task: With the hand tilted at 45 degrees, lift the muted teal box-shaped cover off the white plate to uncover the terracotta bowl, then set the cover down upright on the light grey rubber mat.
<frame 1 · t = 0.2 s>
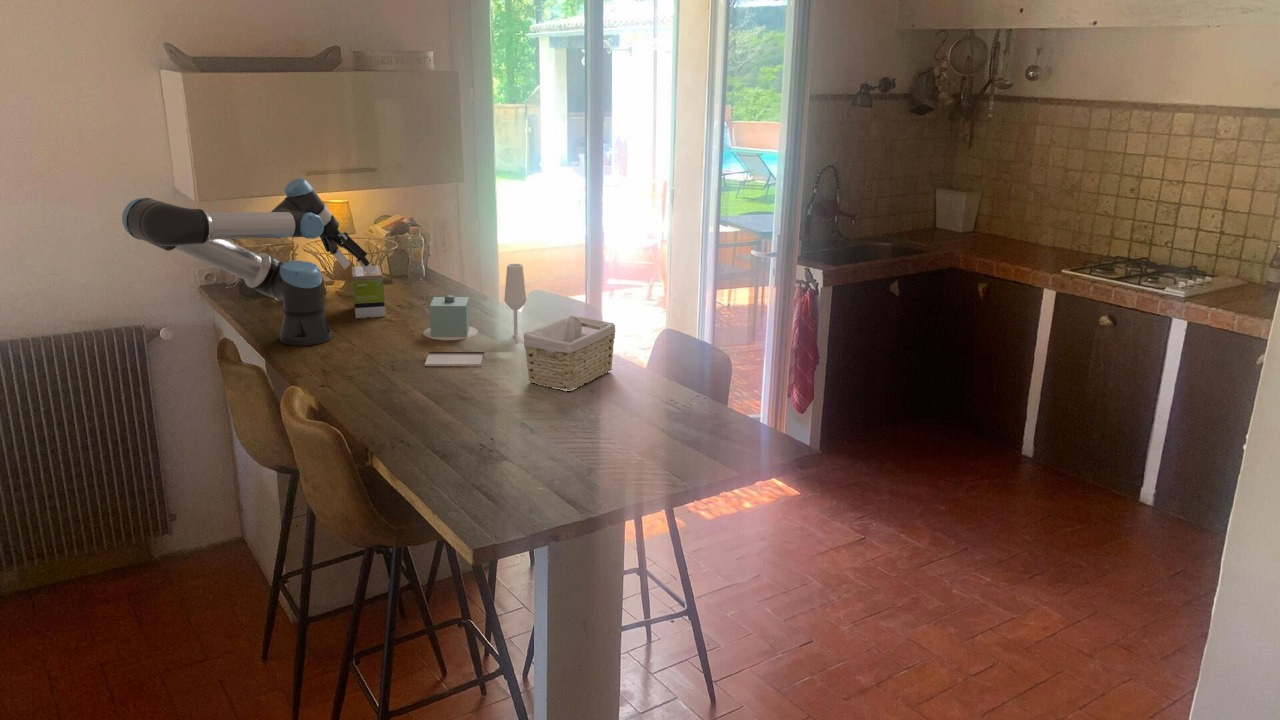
hand: (359, 269, 317), 16 cm above the counter, tool tilted 35°, fingers open, 13 cm apart
storage basket: (570, 378, 266), on the counter
mat: (455, 358, 279), on the counter
cover: (450, 332, 299), point 1 cm above the counter, touching plate
plate: (450, 336, 299), on the counter
champagne flute: (515, 340, 298), on the counter
tea box: (369, 312, 324), on the counter
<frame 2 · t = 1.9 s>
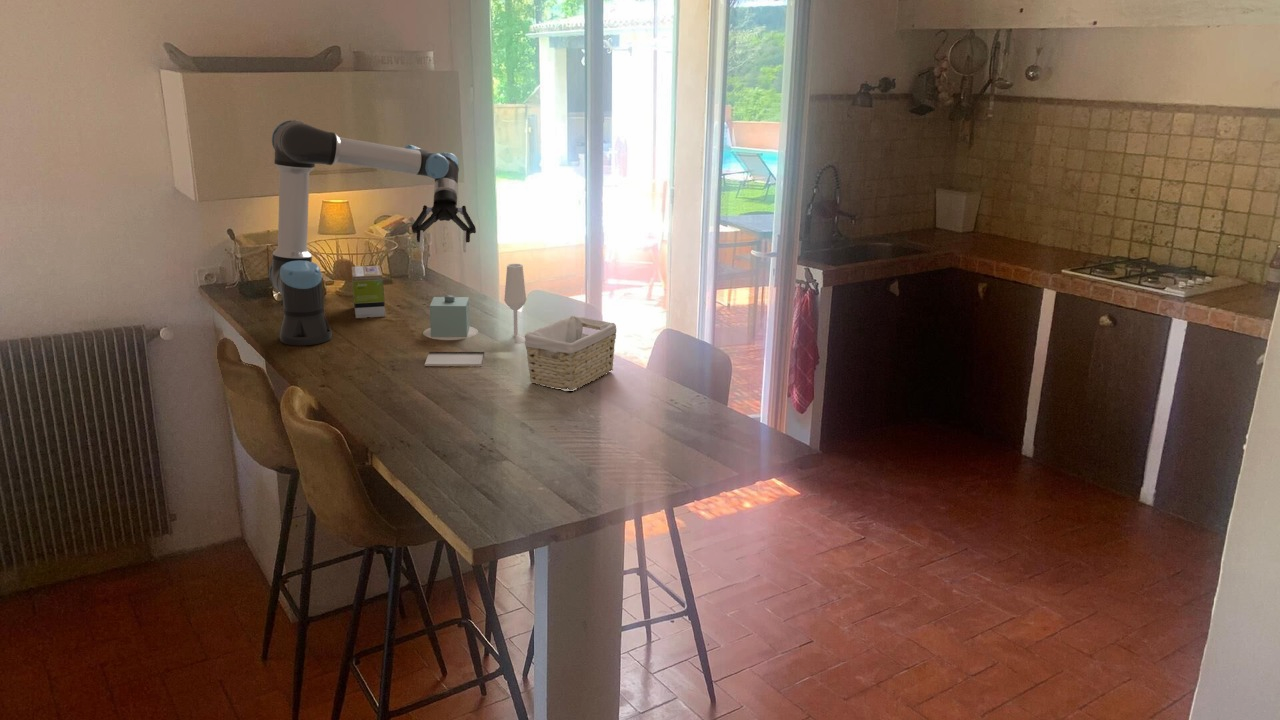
hand: (442, 250, 301), 26 cm above the counter, tool tilted 45°, fingers open, 13 cm apart
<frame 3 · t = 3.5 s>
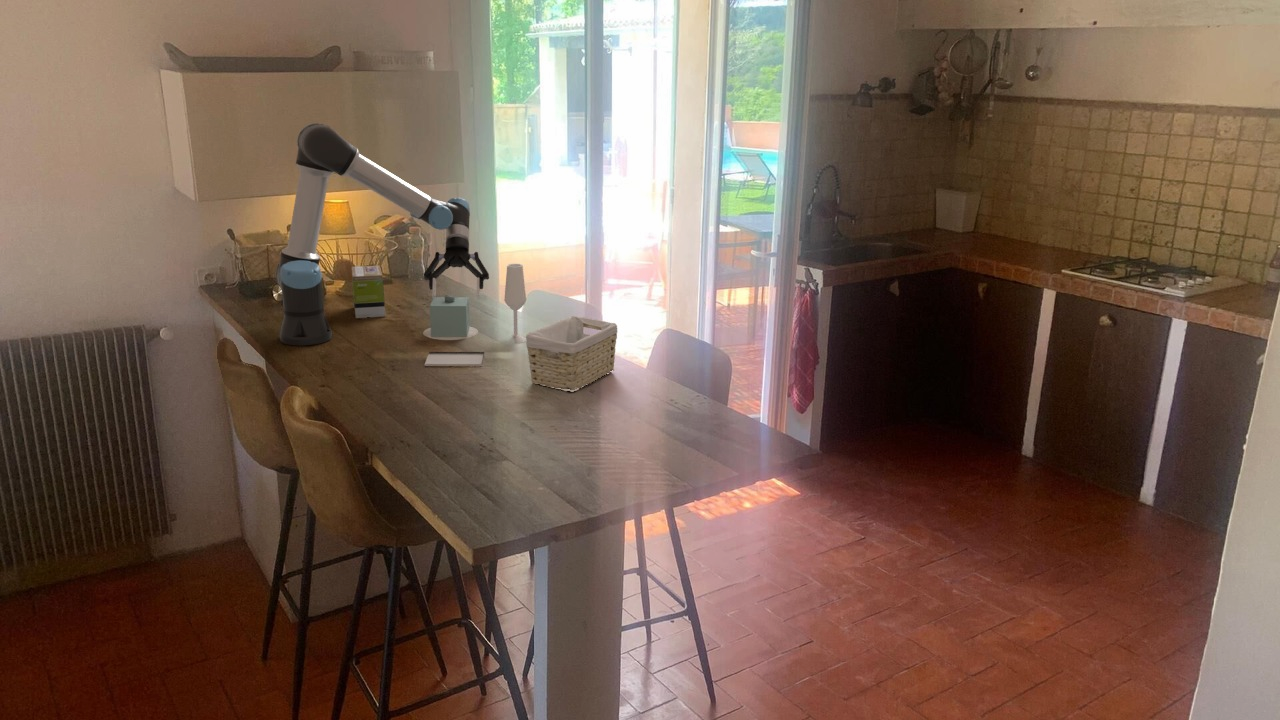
hand: (456, 297, 302), 11 cm above the counter, tool tilted 45°, fingers open, 13 cm apart
cover: (450, 332, 299), point 1 cm above the counter, touching gripper, plate
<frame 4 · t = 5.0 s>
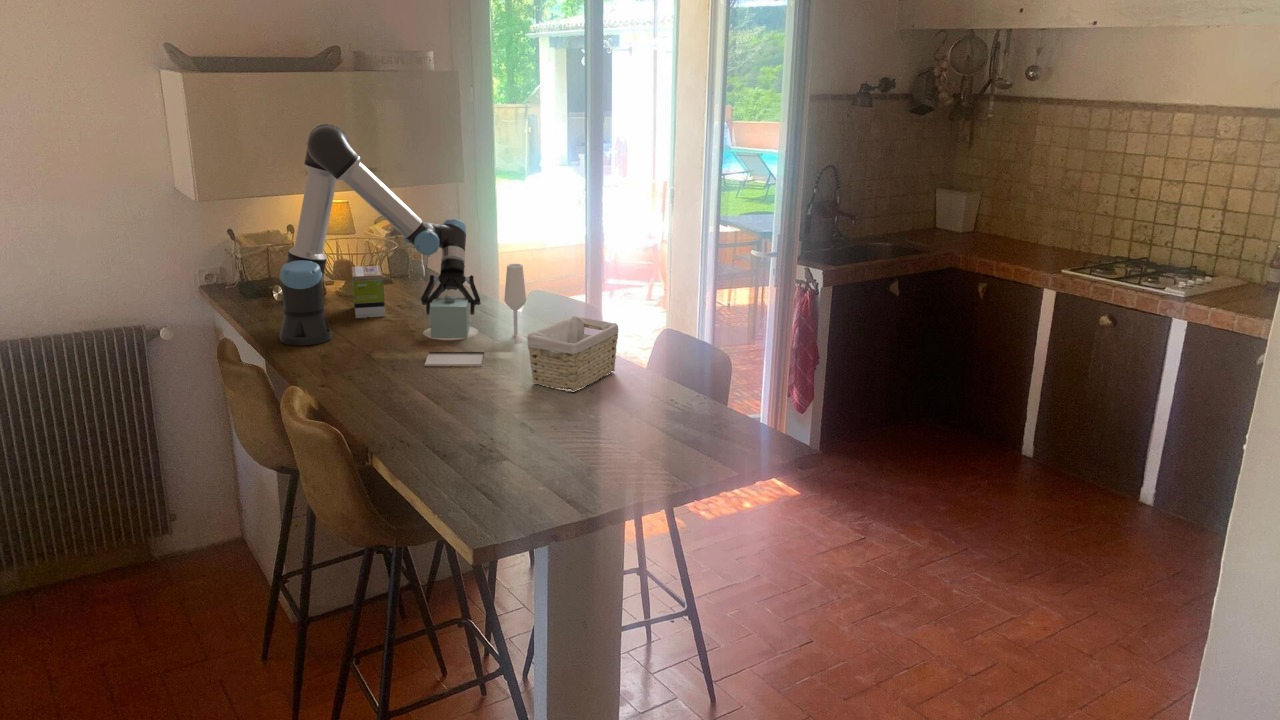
hand: (449, 322, 295), 5 cm above the counter, tool tilted 45°, fingers closed on cover, 11 cm apart
cover: (450, 332, 298), point 2 cm above the counter, touching gripper, plate
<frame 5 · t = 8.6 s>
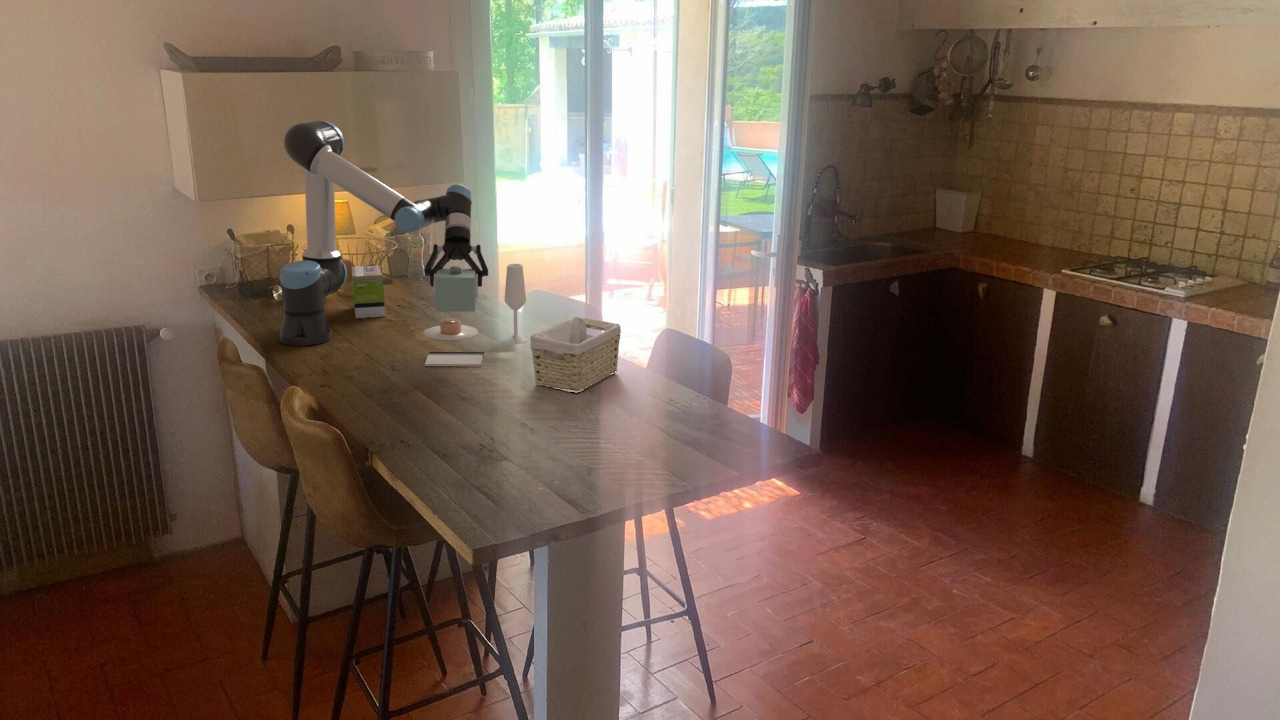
hand: (455, 295, 273), 19 cm above the counter, tool tilted 45°, fingers closed on cover, 11 cm apart
cover: (456, 306, 276), point 15 cm above the counter, touching gripper
when the fingers open (6 cm above the counter, at t = 12.0 s): cover drops 1 cm, resting on mat.
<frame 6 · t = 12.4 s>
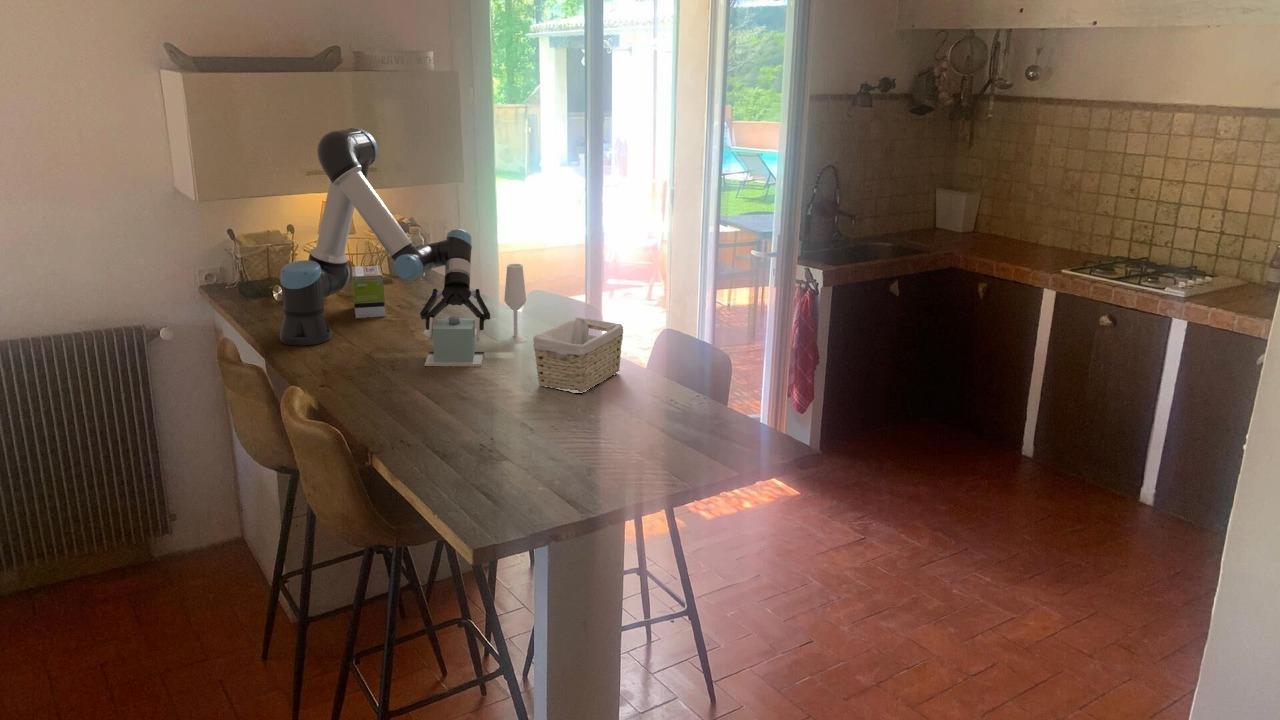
hand: (454, 339, 275), 6 cm above the counter, tool tilted 45°, fingers open, 13 cm apart
cover: (455, 356, 278), point 1 cm above the counter, touching mat
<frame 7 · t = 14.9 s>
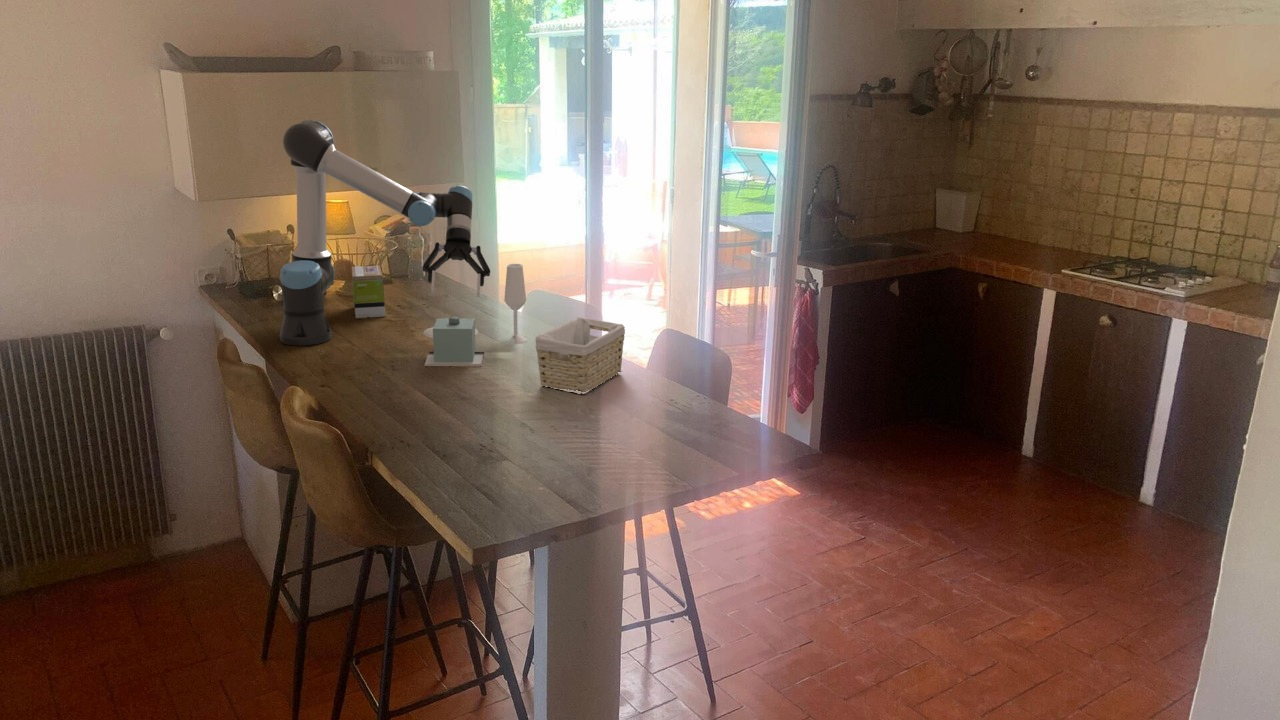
hand: (455, 293, 286), 17 cm above the counter, tool tilted 40°, fingers open, 13 cm apart
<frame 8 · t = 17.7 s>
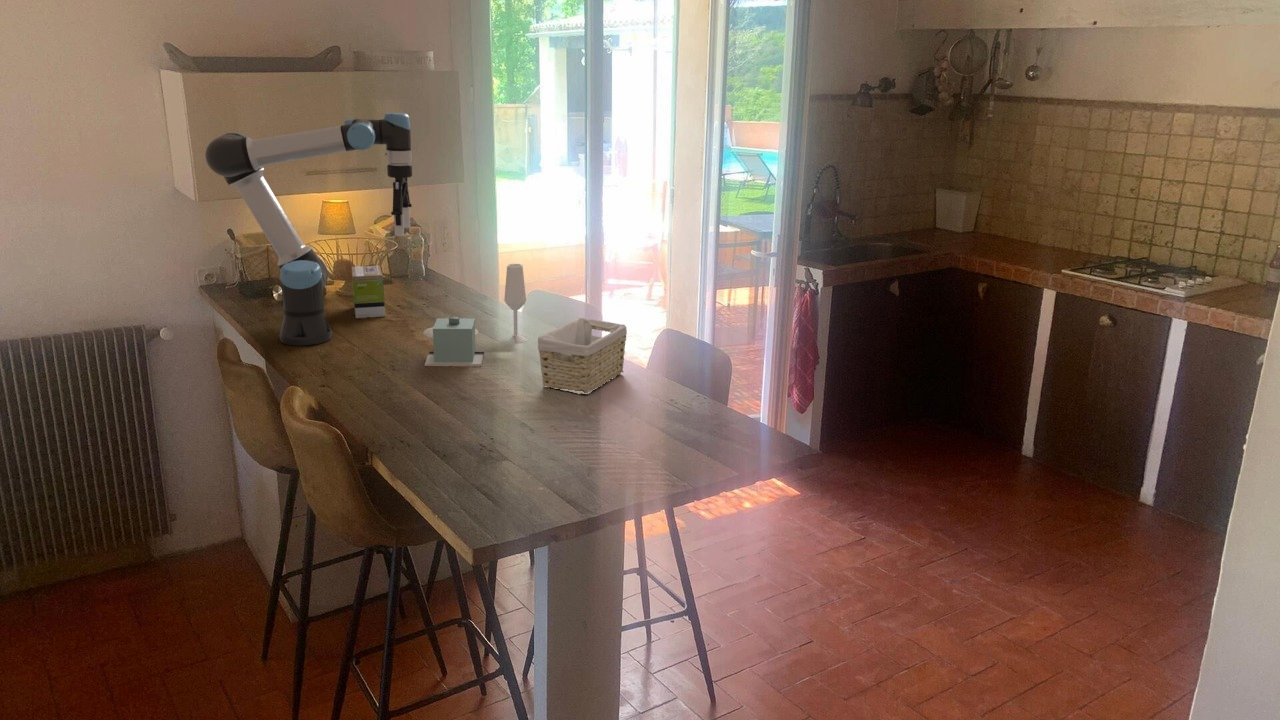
hand: (402, 231, 302), 31 cm above the counter, tool pointing down, fingers open, 13 cm apart
at the end: cover inside the target area on the mat (0.7 cm from its centre), point 0.8 cm above the mat's base; cover tilted 0°; the gripper is holding nothing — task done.
